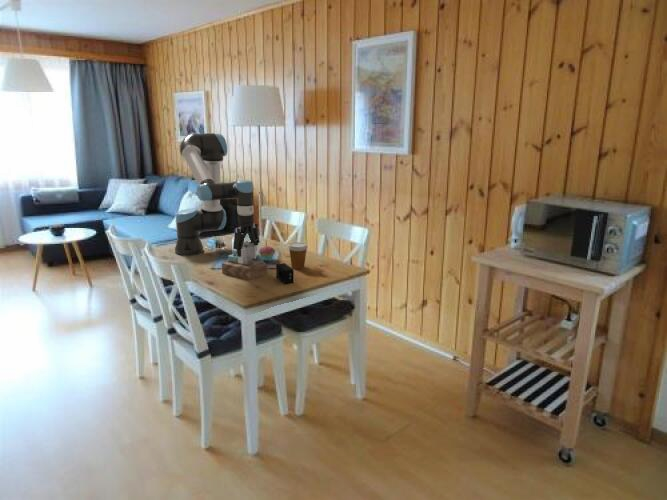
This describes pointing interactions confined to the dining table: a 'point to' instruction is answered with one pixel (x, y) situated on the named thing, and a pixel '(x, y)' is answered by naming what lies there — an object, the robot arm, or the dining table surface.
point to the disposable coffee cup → (297, 254)
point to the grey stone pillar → (247, 253)
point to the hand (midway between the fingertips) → (247, 260)
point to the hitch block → (244, 269)
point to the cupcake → (267, 252)
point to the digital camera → (284, 273)
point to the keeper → (233, 258)
